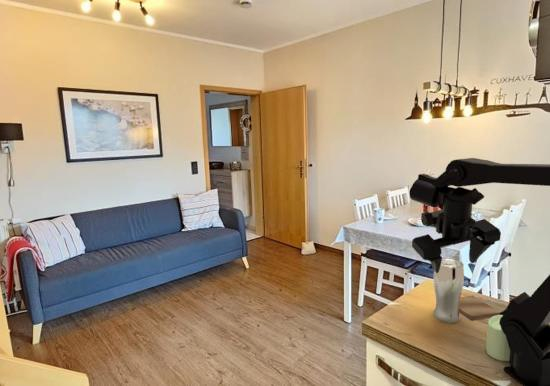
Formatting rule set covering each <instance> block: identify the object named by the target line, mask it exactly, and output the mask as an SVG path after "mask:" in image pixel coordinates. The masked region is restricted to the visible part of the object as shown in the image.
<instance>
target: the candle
mask: <svg viewBox="0 0 550 386" xmlns="http://www.w3.org/2000/svg"><path fill="white" fill-rule="evenodd" d="M502 316H503V315H496V316H493V317H490V318H488V322H487V331H486V334H487V335H486V345H485V346H486V347H485V352H486V353H487V355H489V356H490V357H491V358H493V359H495V360H497V361H500V362H501V361H502V362H509V360H510V348H509V345H508V342H507V339H506V335H505V334H504V333H503V331H502V329H501V326H500V324H499V322H500V319H501V317H502Z"/></svg>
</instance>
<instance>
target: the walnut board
mask: <svg viewBox="0 0 550 386" xmlns="http://www.w3.org/2000/svg"><path fill="white" fill-rule="evenodd" d="M458 310H459V314H461V315H463V316H464V317H465V318H468V319H469V320H470V321H477V320H482V319H490V318H491V317H493V316H496V315H500V314H499V313H500V312H501V310H499V309H496V308H495V307H493V306H491V305H489V304H488V303H486V302H485V301H483V300H482V299H479V298H478V297H476V296H475V295H468V296H461V297H460V301H459V307H458Z"/></svg>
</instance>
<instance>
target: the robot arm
mask: <svg viewBox="0 0 550 386" xmlns="http://www.w3.org/2000/svg"><path fill="white" fill-rule="evenodd" d="M417 176H418V177H417V179H416V180H414V182H413V184H411V187H410V189H409V198H410V199H411V200H412V201H414V202H417V203H420V204H423V205H425V206H428V207H431V208H437V207H439V206H441V205H442V209H439V210H436V211H435V210H434V211H431V212H430V211H426V212H422V213H421V217H420V220H421V225H423V226H424V227H427V228H428V227H432V228H435V232H436V233H437V234H441V237H439V238H435V239H434V238H433V237H432V236H431V235H430V234H425V235H420V236H416V237H414V238H413V239H412V241H411V247H412V249H414V251H415V252H416V253H417V254H418V255H419V256H420V258H422V260H425V261H428V262H429V263H430V264H431V266H432V269H433V272H434V271H435V272H436V273H438V272H439V270H440V265H441V261H442V259H443V257H442V249H444V248H447V247H451V246H456V245H459V244H462V243H466V242H469V250H468V251H469V253H468V259H469V262H470V263H471V264H474V263H475V262H476V261H477V260H479V258H481V256H482V255H483V254H484V253H485V252H486V251H487V250H488V249H489V248H490V247H491V246H493V245H495V244H496V242H499V241H501V235H502V233H501V230H500V228H498V227H497V226H496V225H494V224H493V223H491V222H490V221H488V220H487V219H486V218H484V219H479V220H475V219H474V218H473V217H472V214H473V206H474V205H476V204H478V203H479V202H481V201H482V200H483V199H484V198H485V195H484V194H483V193H481V192H480V191H479V190H478V189H477V188H475V187H474V188H472V189H469V188H466V187H468V186H479V185H486V184H506V185H507V184H510V185H512V184H513V185H526V186H527V185H528V186H546V187H550V164H549V163H548V164H547V163H545V164H543V163H541V164H540V163H539V164H538V163H500V162H496V161H491V160H487V159H481V158H477V157H476V158H475V157H468V158H459V159H453V160H450V162H448V164H447V165H446V167H445V170H444V171H443V172H442V173H441V174H440V175H439V176H438V177H434V176H431V175H429V174H426V173H419V174H418V175H417ZM451 186H452V187H451ZM499 314H500V315H503V316H502V317H501V319H500V322H499V324H500V326H501V329H502V331H503V333H504V334H505V335H506V339H507V342H508V345H509V348H510V360H509V361H508V363H509V365H507V366H504V367H503V371H504V372H506V373H507V374H508V375H509V376H510V377H512V378H513V379H515V381H518V382H519V383H520V384H521V385H523V386H550V274H549V275H548V276H547V277H546V278H545V279H544V280H543V281H542V282H541V284H540V285H538V287H537V288H536V289H535V291H534V292H533V293H532V294H531V295H529V294H528V293H527V292H526V291H524V292H522V293H519V294H518V295H517V296H515V297H513V298H512V299H511V300H510V301H509V303H508V304H507V306H506V308H505V309H504V310H502V311H500V313H499Z"/></svg>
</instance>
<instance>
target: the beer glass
mask: <svg viewBox="0 0 550 386" xmlns="http://www.w3.org/2000/svg"><path fill="white" fill-rule="evenodd" d="M464 264H465V263H463V262H462V261H460V260H458V259H453V258H442V261H441V265H440V270H439V272H438V273H436V272H435V271H434V270H433V289H434V293H435V294H434V296H435V309H434V311H433V317H434V318H435V319H436V320H438V321H441V322H443V323H447V324H455V323H458V322H460V319H461V318H460V312H459V310H458V307H459V301H460V297H462V293H463V290H464V289H463V288H464V284H465V283H464V282H465V279H464V278H465V273H464V271H465V270H464V269H465V268H464V267H465V266H464Z"/></svg>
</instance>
